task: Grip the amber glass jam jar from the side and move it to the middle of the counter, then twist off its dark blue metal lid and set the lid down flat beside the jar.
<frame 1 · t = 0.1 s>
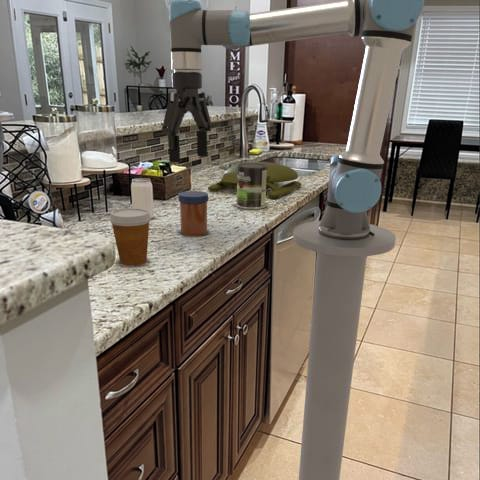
hand: (189, 159, 134), 21 cm above the countertop, tool pointing down, fingers open, 13 cm apart
disposable coffee cup: (133, 262, 121), on the countertop
lid: (193, 195, 141), point 11 cm above the countertop, screwed on, not yet turned
spaceship: (258, 188, 207), on the countertop
jar: (194, 232, 145), on the countertop
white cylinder: (143, 218, 159), on the countertop
coffee can: (251, 206, 177), on the countertop
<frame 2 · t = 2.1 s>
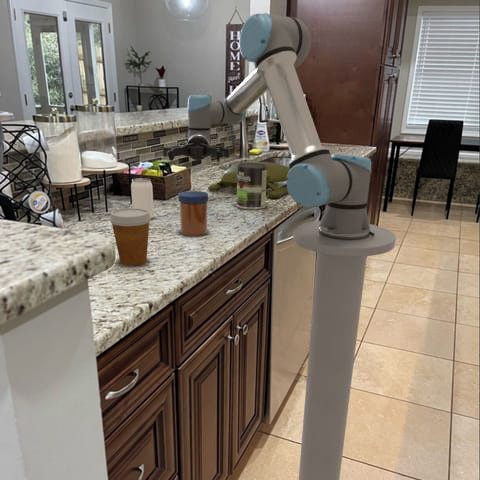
hand: (194, 156, 145), 20 cm above the countertop, tool horizontal, fingers open, 13 cm apart
nothing on the countertop moved.
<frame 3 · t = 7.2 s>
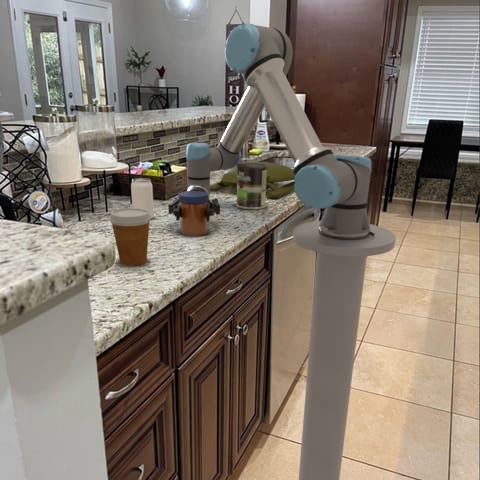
hand: (192, 216, 138), 6 cm above the countertop, tool horizontal, fingers closed on jar, 8 cm apart
jar: (194, 232, 145), on the countertop, touching gripper
everything else where it was.
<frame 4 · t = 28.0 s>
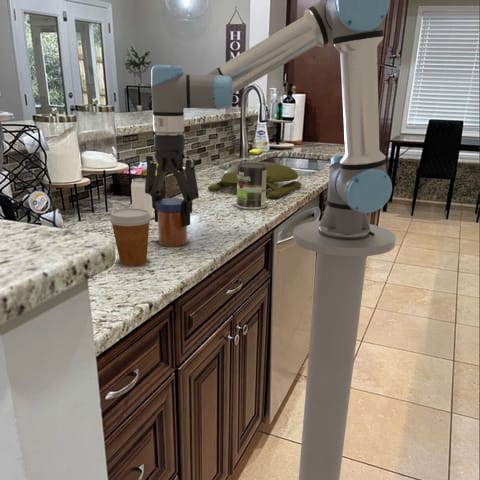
hand: (172, 223, 133), 5 cm above the countertop, tool pointing down, fingers closed on lid, 8 cm apart
lid: (171, 203, 131), point 11 cm above the countertop, screwed on, not yet turned, touching gripper
jar: (173, 242, 136), on the countertop
everything else where it was.
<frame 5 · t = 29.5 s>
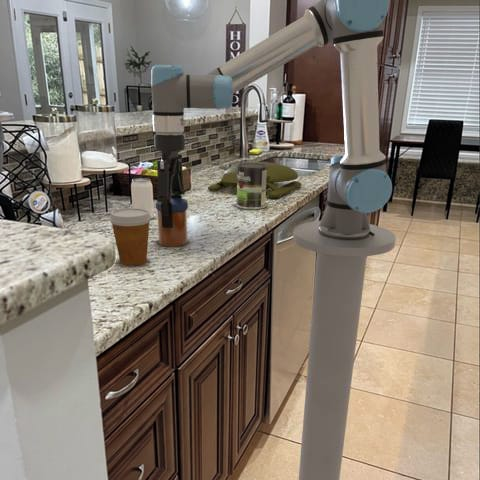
hand: (172, 223, 133), 5 cm above the countertop, tool pointing down, fingers closed on lid, 8 cm apart
lid: (171, 202, 131), point 11 cm above the countertop, off its thread, touching gripper
everything else where it was.
when the fingers open (0 cm above the countertop, at t = 39.3 s): lid drops 4 cm, point 1 cm above the countertop.
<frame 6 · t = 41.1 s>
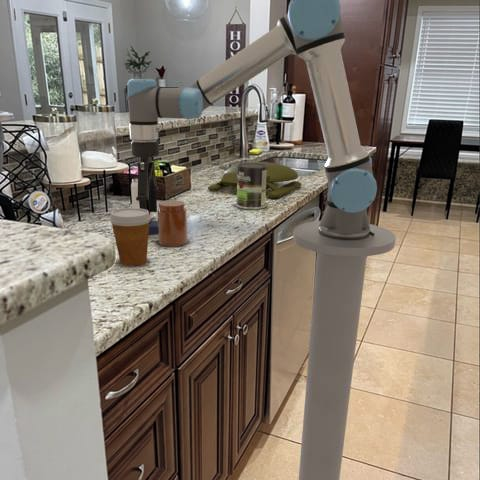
hand: (149, 217, 145), 4 cm above the countertop, tool pointing down, fingers open, 13 cm apart
lid: (149, 225, 146), point 1 cm above the countertop, off its thread
everything else where it was.
at the end: lid point 1.5 cm above the countertop; the gripper is holding nothing; jar inside the target area (0.1 cm from its centre), on the countertop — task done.
